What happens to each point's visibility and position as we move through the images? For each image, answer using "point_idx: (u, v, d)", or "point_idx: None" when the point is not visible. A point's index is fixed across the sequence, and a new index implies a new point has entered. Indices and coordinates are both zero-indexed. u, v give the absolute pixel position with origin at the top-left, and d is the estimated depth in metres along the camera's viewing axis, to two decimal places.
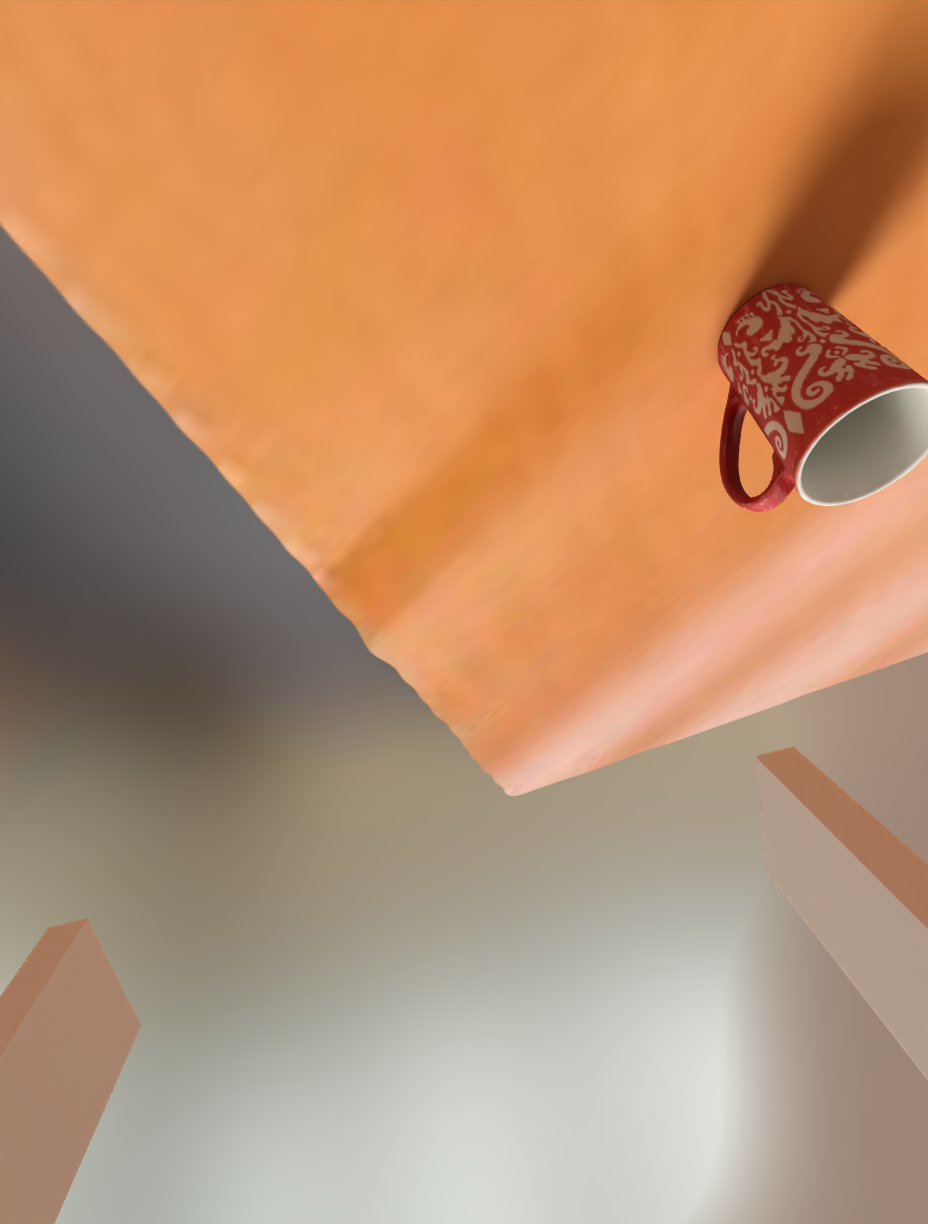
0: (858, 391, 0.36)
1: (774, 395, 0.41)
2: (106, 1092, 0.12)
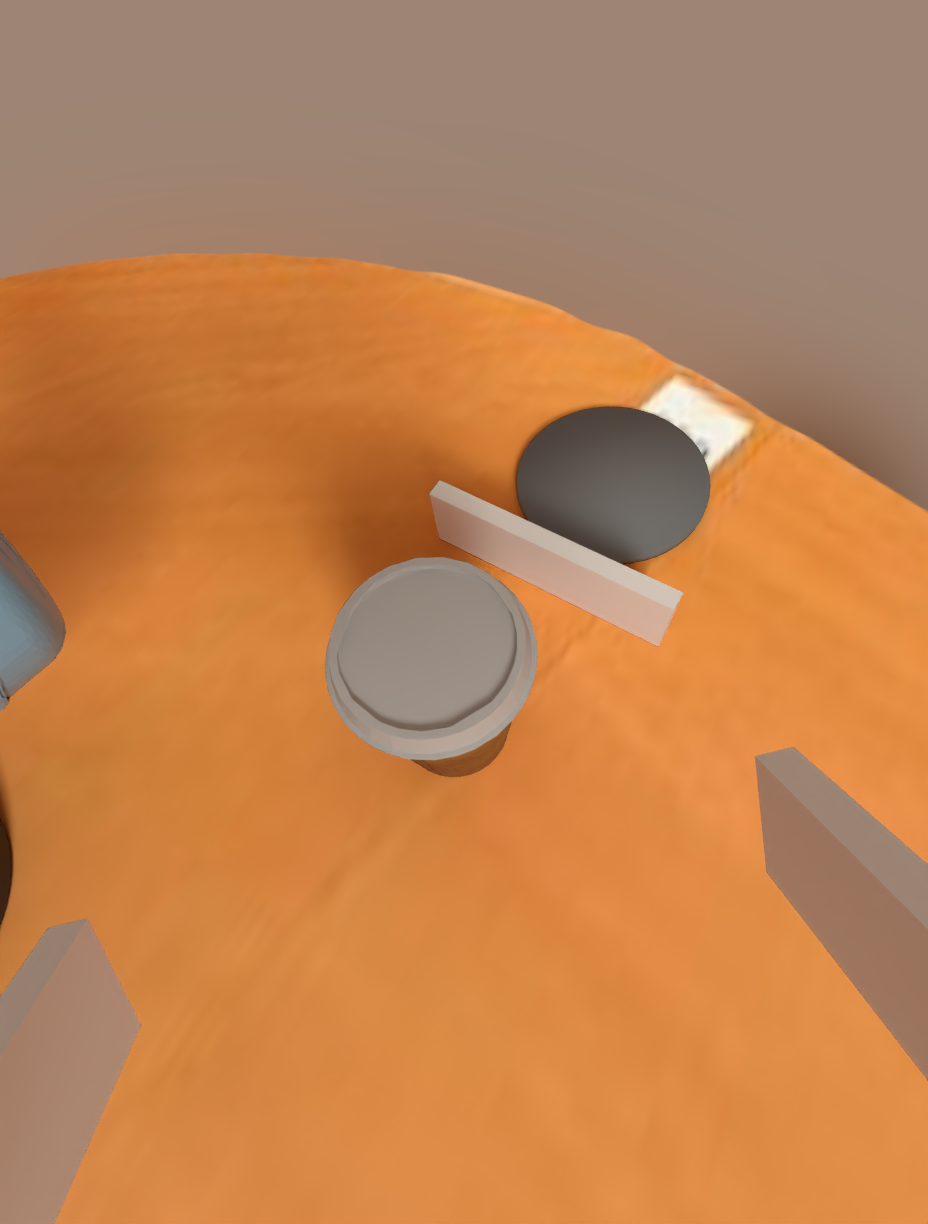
0: None
1: None
2: (107, 1092, 0.12)
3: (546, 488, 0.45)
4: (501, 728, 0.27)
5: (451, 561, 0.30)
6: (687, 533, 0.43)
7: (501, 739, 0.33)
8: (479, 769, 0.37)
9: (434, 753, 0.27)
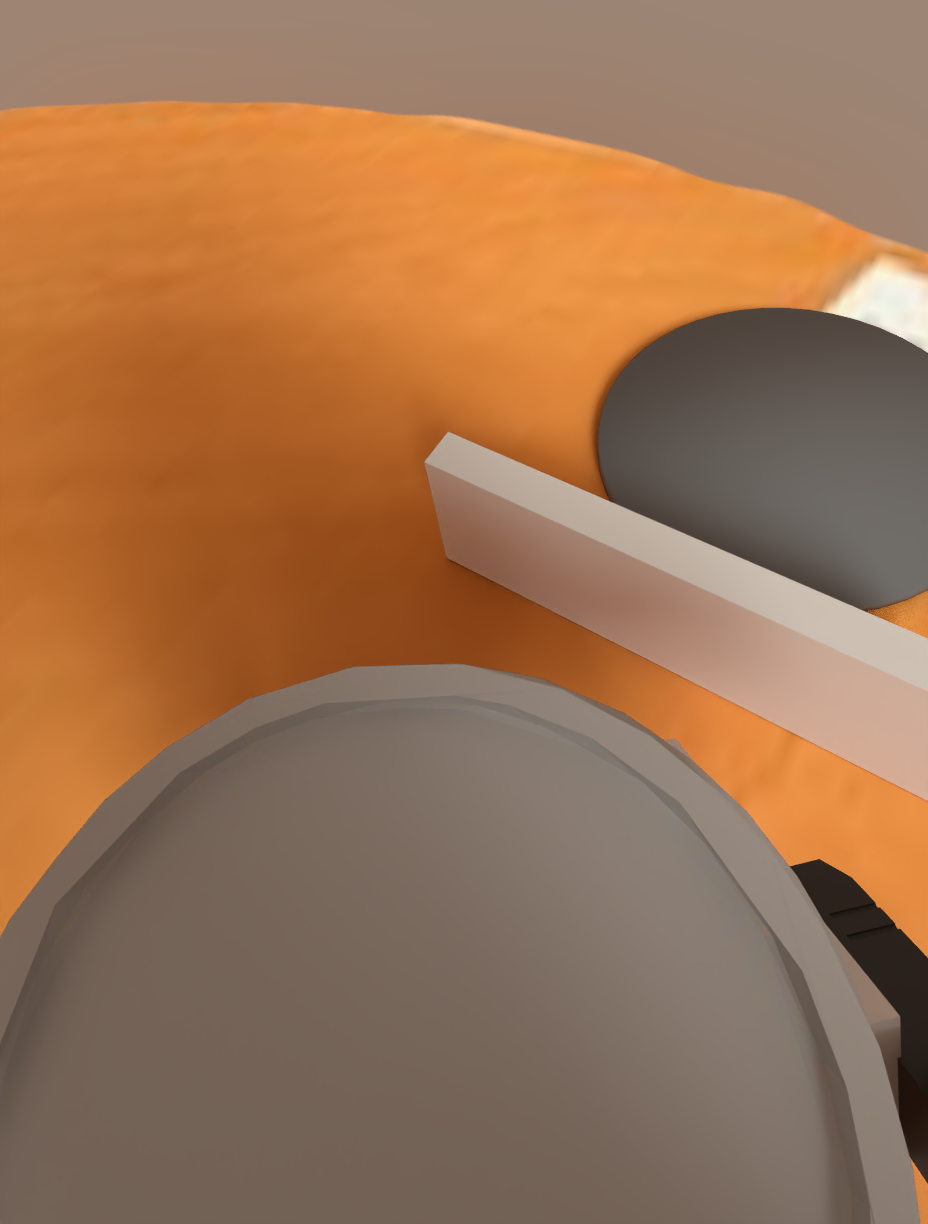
0: None
1: None
2: None
3: (659, 458, 0.23)
4: None
5: (497, 685, 0.07)
6: None
7: None
8: None
9: None
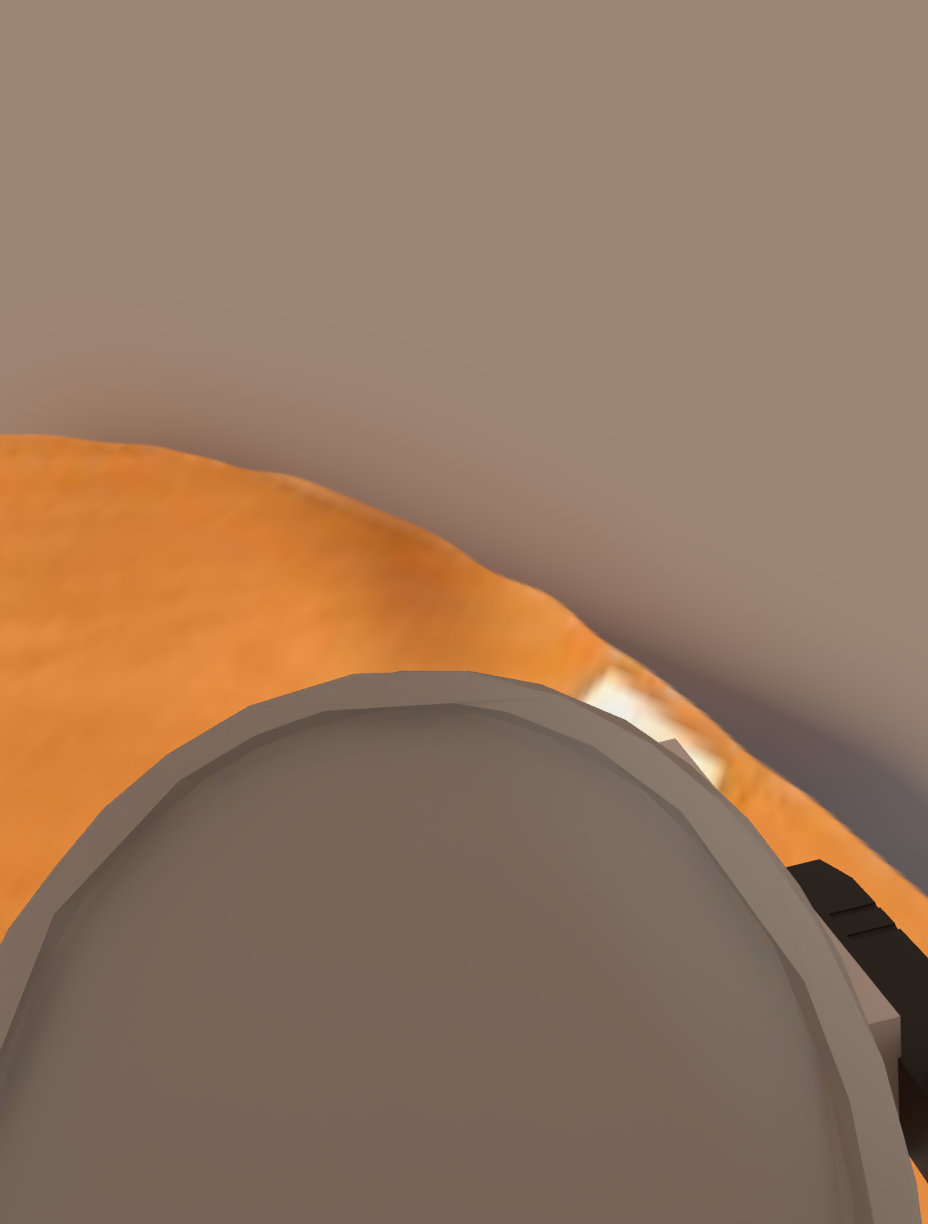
0: None
1: None
2: None
3: None
4: None
5: (497, 692, 0.07)
6: None
7: None
8: None
9: None
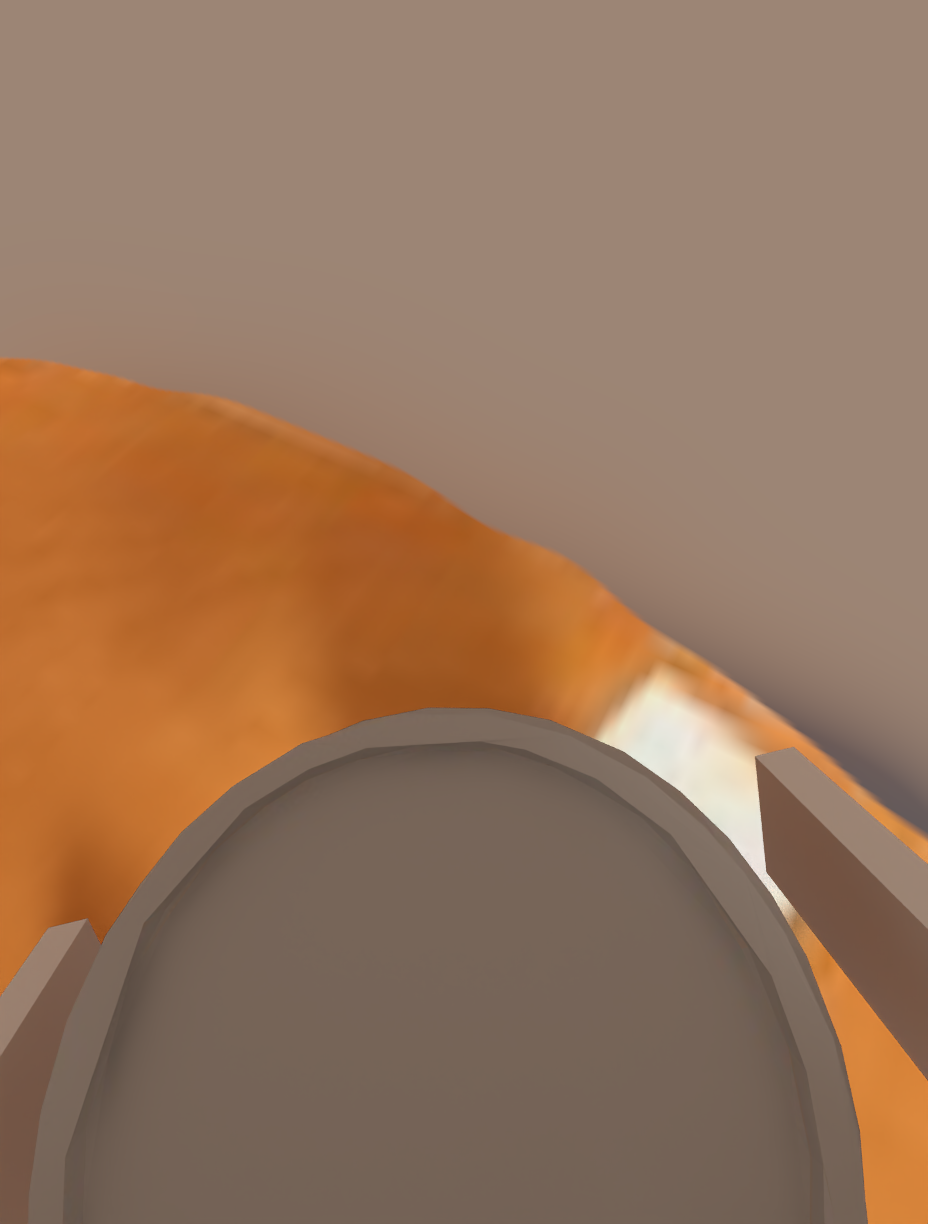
0: None
1: None
2: None
3: None
4: None
5: (515, 732, 0.09)
6: None
7: None
8: None
9: None
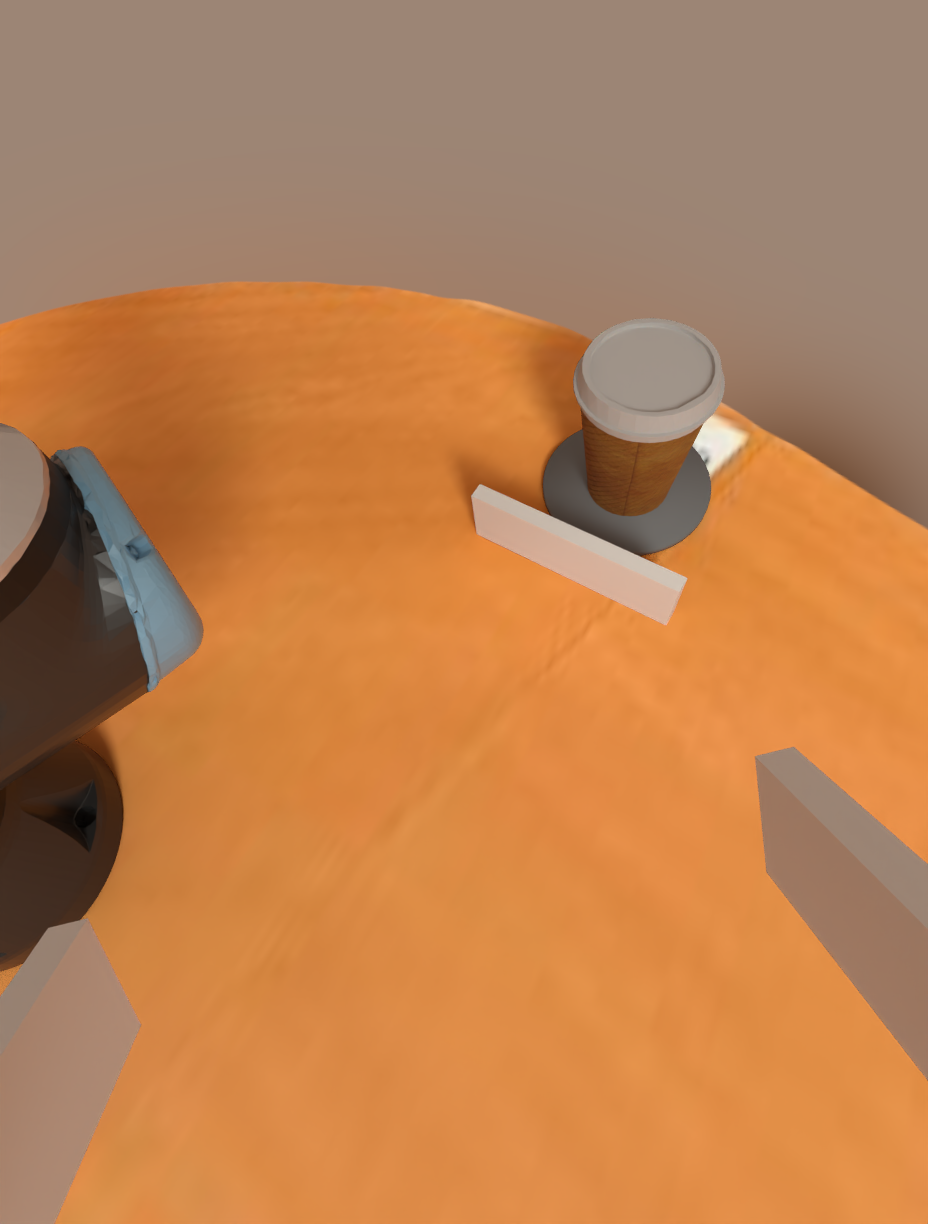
0: None
1: None
2: (107, 1091, 0.12)
3: (569, 491, 0.52)
4: (706, 417, 0.41)
5: (659, 320, 0.43)
6: (691, 529, 0.50)
7: (680, 466, 0.47)
8: (651, 509, 0.50)
9: (662, 432, 0.40)
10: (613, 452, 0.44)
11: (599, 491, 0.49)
